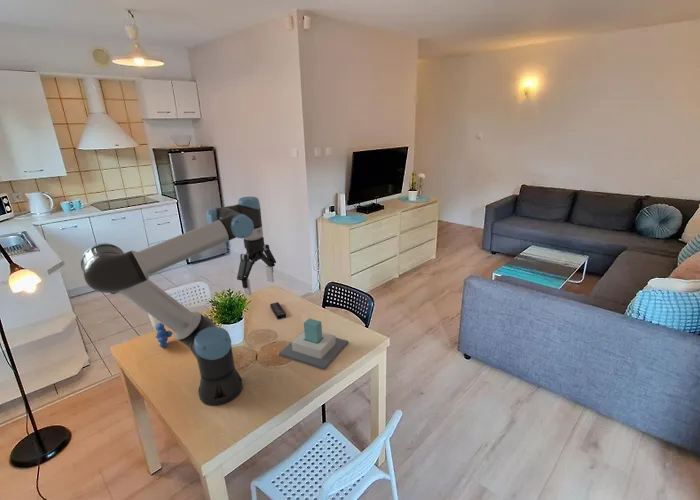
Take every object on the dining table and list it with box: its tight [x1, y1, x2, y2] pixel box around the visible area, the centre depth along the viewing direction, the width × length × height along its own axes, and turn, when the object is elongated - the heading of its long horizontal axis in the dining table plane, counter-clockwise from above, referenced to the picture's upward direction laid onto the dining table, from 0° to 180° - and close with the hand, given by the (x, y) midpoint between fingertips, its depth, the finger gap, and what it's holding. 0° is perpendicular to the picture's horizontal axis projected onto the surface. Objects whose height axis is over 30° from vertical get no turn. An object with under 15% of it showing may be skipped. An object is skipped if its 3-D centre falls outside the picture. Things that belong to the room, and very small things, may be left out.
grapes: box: [155, 322, 173, 349], centre depth 160 cm, size 12×7×12 cm, turn 28°
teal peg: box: [303, 318, 323, 344], centre depth 154 cm, size 4×6×12 cm, turn 62°
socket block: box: [278, 331, 349, 371], centre depth 156 cm, size 20×22×5 cm
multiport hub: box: [269, 301, 287, 320], centre depth 188 cm, size 4×14×2 cm, turn 26°
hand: (259, 287), depth 149 cm, fingers open, 13 cm apart
